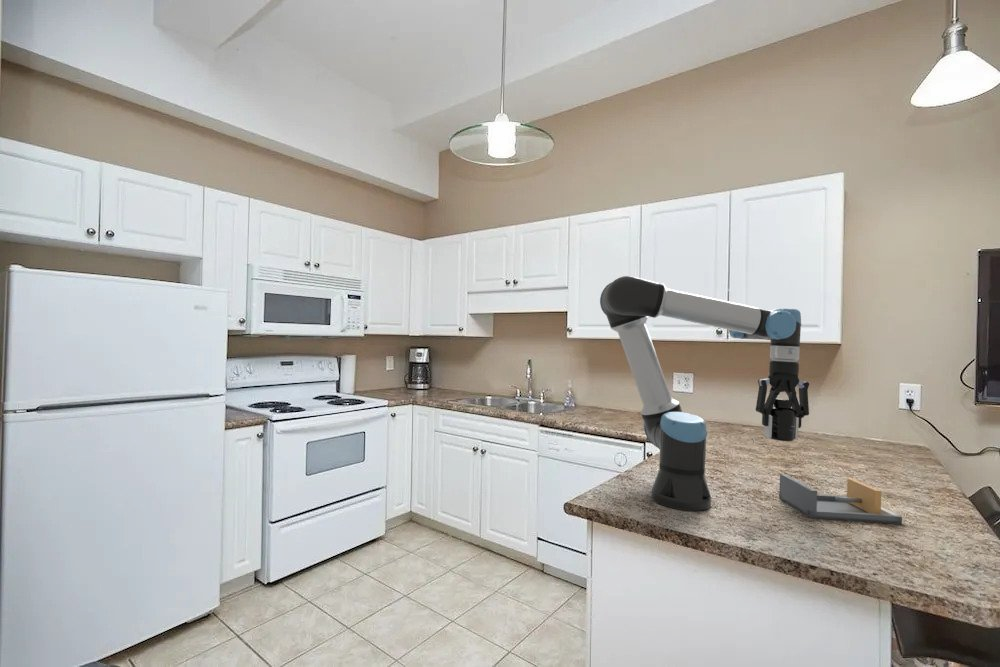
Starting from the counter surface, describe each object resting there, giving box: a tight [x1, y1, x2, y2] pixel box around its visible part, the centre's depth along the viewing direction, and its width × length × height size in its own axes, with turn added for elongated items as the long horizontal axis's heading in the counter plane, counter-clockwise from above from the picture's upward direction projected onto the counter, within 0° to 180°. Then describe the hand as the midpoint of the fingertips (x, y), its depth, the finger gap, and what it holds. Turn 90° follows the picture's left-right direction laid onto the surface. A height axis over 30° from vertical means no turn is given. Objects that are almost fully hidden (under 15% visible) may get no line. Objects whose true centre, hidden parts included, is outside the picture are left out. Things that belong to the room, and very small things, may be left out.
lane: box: [778, 473, 903, 525], centre depth 125 cm, size 22×15×7 cm
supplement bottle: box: [769, 397, 795, 442], centre depth 139 cm, size 7×7×12 cm
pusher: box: [835, 478, 882, 514], centre depth 125 cm, size 8×11×6 cm
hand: (780, 437), depth 139 cm, fingers closed on supplement bottle, 7 cm apart
